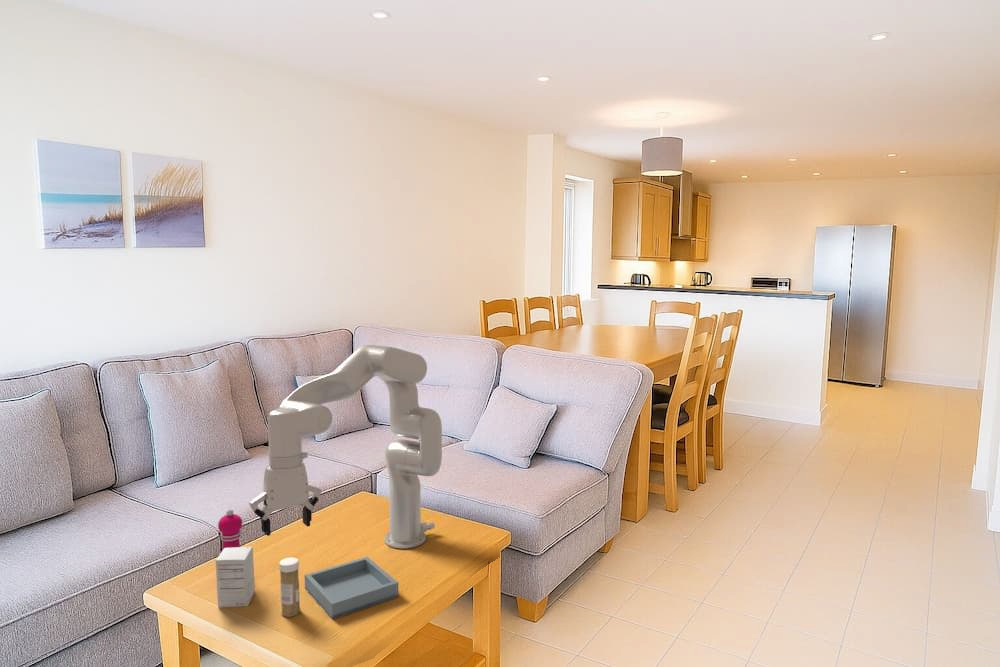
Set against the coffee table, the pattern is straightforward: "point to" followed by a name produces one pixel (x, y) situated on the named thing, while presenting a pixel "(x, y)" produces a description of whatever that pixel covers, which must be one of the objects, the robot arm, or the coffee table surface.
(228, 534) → the pepper mill
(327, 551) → the coffee table surface
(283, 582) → the sprinkles bottle
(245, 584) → the supplement box
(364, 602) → the tray
